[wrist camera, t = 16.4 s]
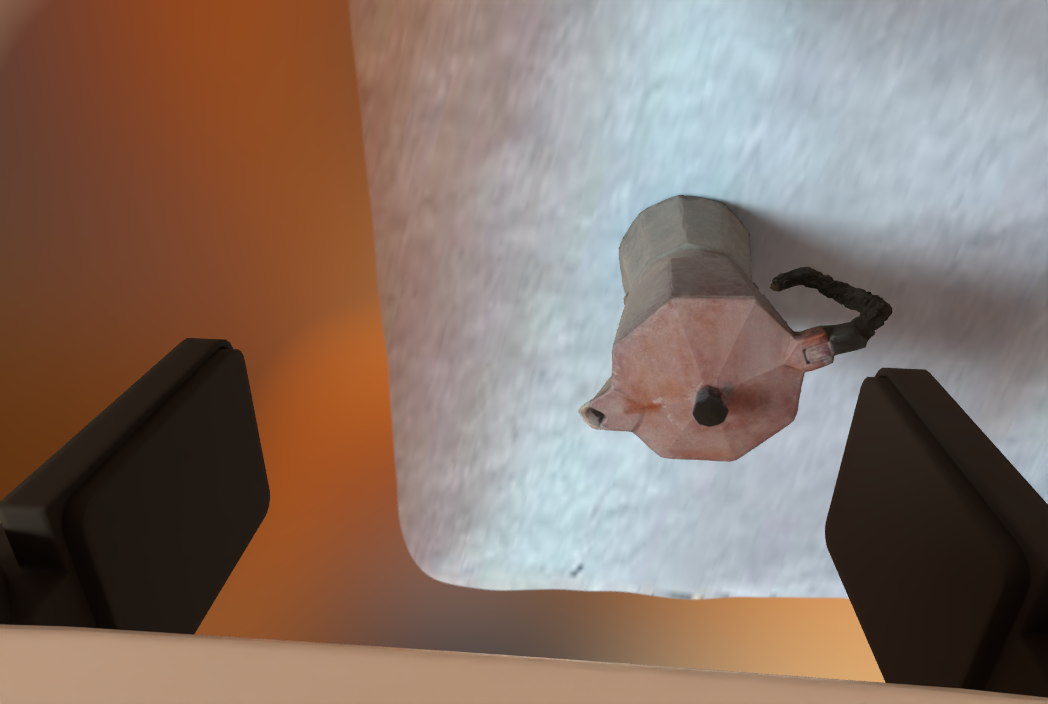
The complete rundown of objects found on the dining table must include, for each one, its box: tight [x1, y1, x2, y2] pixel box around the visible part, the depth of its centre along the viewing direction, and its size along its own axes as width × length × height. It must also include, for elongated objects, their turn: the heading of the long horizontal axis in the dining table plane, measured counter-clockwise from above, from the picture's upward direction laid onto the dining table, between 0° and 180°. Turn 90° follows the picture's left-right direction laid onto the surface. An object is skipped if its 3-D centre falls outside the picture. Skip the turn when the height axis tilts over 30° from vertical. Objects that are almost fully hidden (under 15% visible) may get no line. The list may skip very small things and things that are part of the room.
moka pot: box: [579, 195, 893, 461], centre depth 40 cm, size 10×15×20 cm, turn 119°
